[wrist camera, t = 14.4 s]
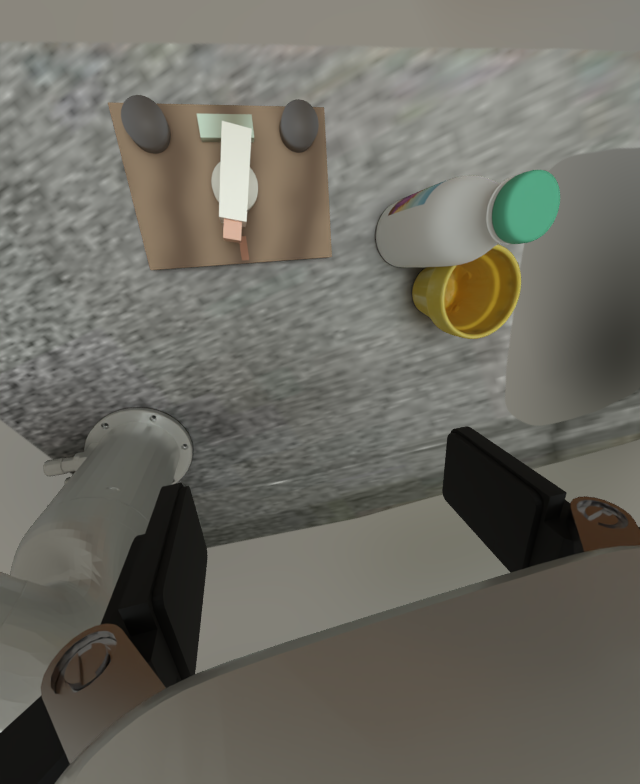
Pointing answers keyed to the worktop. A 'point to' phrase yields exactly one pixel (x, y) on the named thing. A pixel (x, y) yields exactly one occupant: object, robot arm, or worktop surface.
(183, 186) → the brown lever switch panel
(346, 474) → the worktop surface
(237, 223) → the wing knob
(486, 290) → the plant pot
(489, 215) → the milk bottle
